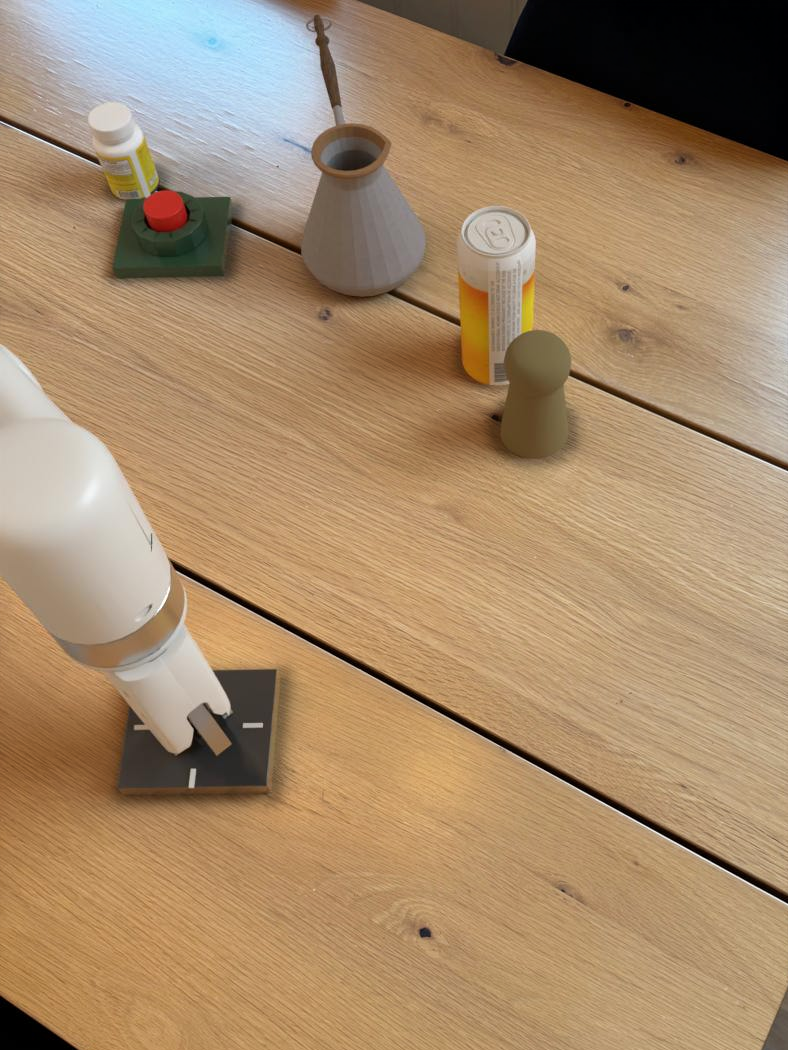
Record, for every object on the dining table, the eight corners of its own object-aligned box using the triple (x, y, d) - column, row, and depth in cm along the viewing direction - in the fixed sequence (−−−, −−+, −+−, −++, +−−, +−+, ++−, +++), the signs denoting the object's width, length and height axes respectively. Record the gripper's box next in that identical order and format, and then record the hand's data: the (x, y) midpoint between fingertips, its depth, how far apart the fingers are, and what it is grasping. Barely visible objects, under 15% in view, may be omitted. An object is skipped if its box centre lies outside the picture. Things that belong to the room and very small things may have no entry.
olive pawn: (557, 474, 88) (564, 386, 78) (488, 456, 89) (487, 367, 79) (578, 419, 90) (587, 327, 80) (511, 402, 91) (512, 309, 81)
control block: (119, 286, 98) (105, 252, 95) (133, 217, 102) (119, 182, 99) (226, 283, 98) (216, 250, 94) (235, 215, 102) (226, 180, 98)
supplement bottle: (146, 168, 105) (118, 91, 98) (171, 193, 104) (145, 117, 96) (104, 190, 104) (73, 114, 96) (129, 216, 102) (99, 140, 95)
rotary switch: (127, 800, 75) (115, 788, 73) (144, 684, 80) (133, 669, 77) (273, 798, 75) (266, 786, 73) (283, 681, 80) (276, 666, 77)
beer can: (515, 331, 95) (518, 193, 81) (541, 380, 92) (548, 246, 79) (452, 350, 94) (444, 214, 80) (477, 400, 91) (472, 268, 78)
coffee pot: (439, 300, 97) (429, 160, 83) (316, 323, 96) (286, 185, 82) (395, 147, 106) (380, -1, 93) (282, 166, 105) (251, 19, 92)
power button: (146, 234, 96) (140, 218, 95) (151, 206, 98) (145, 190, 96) (185, 233, 96) (180, 217, 94) (189, 205, 98) (184, 189, 96)
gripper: (-18, 549, 60) (94, 682, 77) (134, 740, 55) (218, 839, 71) (94, 476, 62) (179, 621, 79) (250, 653, 57) (306, 769, 73)
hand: (197, 724), depth 75 cm, fingers closed, pressing on hob knob
